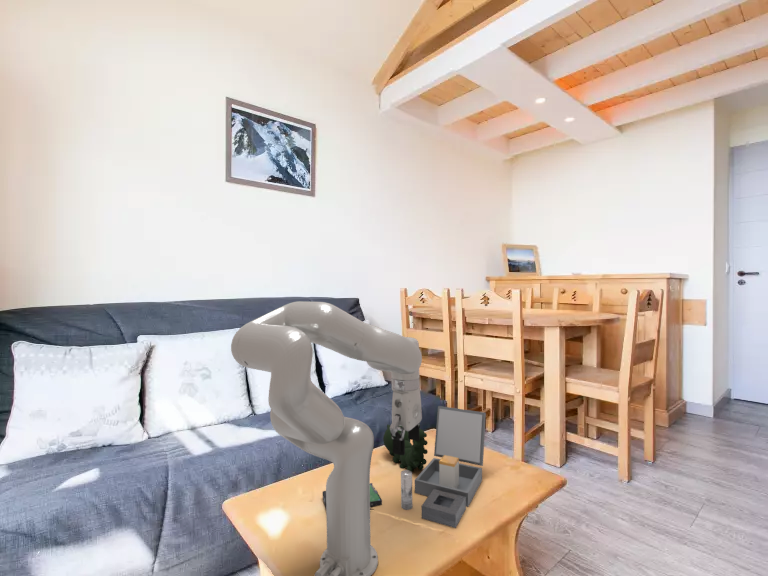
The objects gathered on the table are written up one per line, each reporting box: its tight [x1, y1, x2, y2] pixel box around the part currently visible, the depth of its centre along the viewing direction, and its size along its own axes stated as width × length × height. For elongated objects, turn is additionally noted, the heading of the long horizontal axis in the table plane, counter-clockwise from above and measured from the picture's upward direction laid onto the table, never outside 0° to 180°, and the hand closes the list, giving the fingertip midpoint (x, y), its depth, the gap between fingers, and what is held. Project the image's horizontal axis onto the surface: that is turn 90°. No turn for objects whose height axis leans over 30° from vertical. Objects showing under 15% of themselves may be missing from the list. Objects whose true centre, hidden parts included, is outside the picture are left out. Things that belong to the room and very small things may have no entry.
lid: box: [433, 405, 487, 467], centre depth 124 cm, size 16×16×1 cm
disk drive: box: [322, 482, 383, 511], centre depth 108 cm, size 10×3×15 cm
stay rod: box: [400, 469, 413, 511], centre depth 105 cm, size 3×3×10 cm
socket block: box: [421, 489, 467, 529], centre depth 101 cm, size 9×9×4 cm
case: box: [414, 457, 483, 508], centre depth 115 cm, size 16×16×4 cm
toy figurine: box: [382, 424, 429, 473], centre depth 132 cm, size 9×19×25 cm
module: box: [439, 455, 460, 489], centre depth 115 cm, size 4×4×8 cm
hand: (406, 446), depth 105 cm, fingers open, 9 cm apart
